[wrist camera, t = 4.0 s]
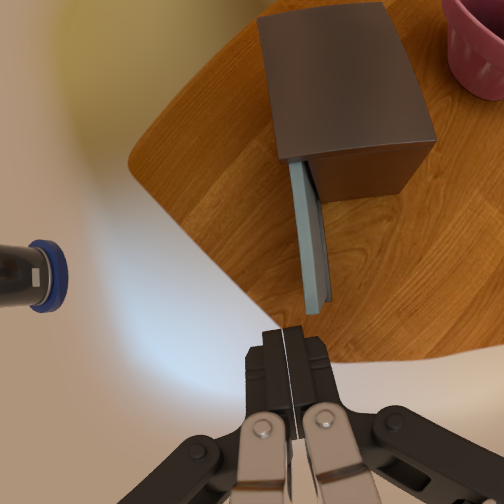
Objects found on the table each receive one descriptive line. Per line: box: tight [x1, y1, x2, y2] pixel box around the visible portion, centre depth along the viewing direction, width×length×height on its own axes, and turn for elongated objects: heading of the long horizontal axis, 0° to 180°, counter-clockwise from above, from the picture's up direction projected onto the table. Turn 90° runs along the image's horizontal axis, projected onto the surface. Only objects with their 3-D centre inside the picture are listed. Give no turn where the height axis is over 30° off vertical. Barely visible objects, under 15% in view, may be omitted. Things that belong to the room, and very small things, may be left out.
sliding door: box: [289, 160, 327, 315], centre depth 24 cm, size 1×12×11 cm, turn 6°
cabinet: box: [257, 2, 437, 302], centre depth 24 cm, size 10×22×14 cm, turn 6°
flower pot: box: [442, 0, 504, 101], centre depth 20 cm, size 14×14×13 cm
